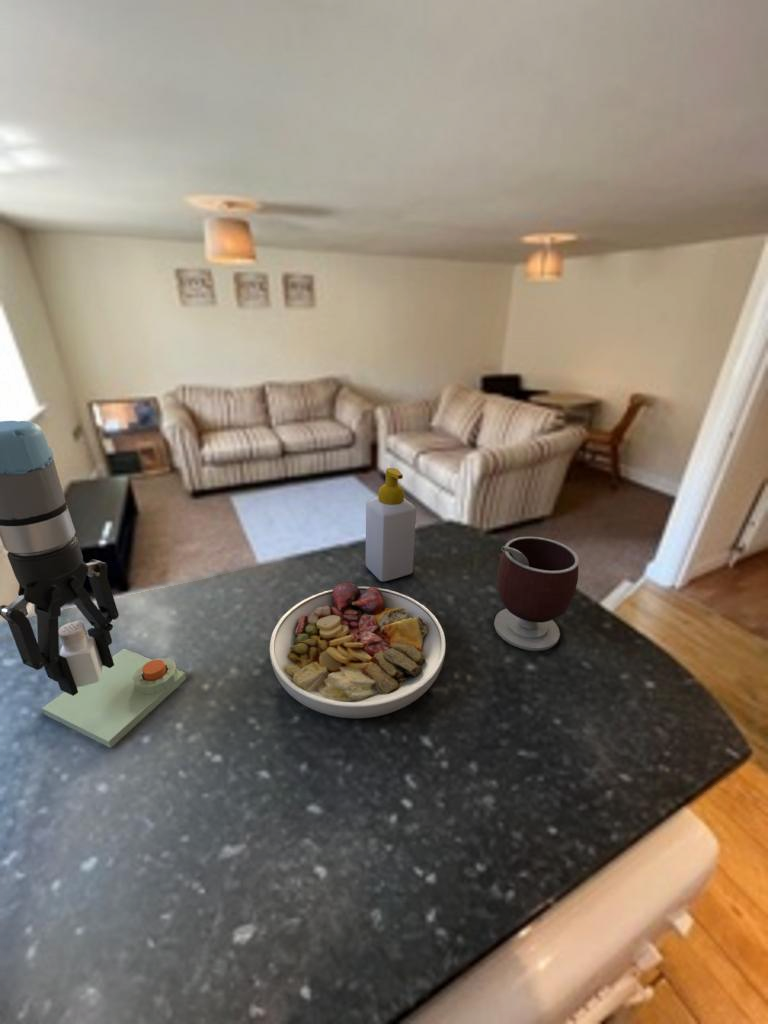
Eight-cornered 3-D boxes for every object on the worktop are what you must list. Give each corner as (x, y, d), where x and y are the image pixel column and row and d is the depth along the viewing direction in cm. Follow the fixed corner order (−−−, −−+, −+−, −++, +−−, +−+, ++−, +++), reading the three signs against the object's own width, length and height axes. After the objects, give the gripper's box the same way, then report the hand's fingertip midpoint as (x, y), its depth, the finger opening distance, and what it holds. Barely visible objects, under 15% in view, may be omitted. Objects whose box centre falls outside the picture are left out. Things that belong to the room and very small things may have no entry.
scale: (44, 714, 67) (38, 700, 66) (125, 654, 79) (121, 641, 78) (111, 748, 62) (105, 733, 61) (187, 678, 74) (184, 664, 73)
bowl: (473, 706, 70) (478, 668, 67) (278, 751, 63) (274, 711, 59) (410, 596, 96) (412, 565, 93) (267, 619, 89) (263, 586, 85)
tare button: (139, 677, 71) (137, 670, 70) (156, 664, 74) (154, 656, 73) (154, 683, 70) (152, 676, 69) (170, 670, 72) (169, 662, 72)
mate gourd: (532, 601, 96) (548, 517, 87) (579, 643, 84) (604, 551, 76) (469, 617, 91) (480, 529, 82) (511, 664, 79) (529, 567, 70)
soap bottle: (381, 584, 100) (383, 480, 90) (363, 565, 107) (363, 466, 97) (414, 574, 104) (421, 473, 94) (395, 557, 111) (399, 461, 101)
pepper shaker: (74, 672, 69) (56, 623, 65) (104, 665, 70) (88, 616, 66) (69, 691, 66) (51, 640, 62) (101, 683, 67) (84, 633, 63)
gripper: (88, 511, 67) (123, 633, 77) (-61, 571, 52) (7, 714, 62) (124, 520, 64) (155, 646, 74) (-21, 586, 49) (43, 733, 59)
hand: (88, 676), depth 68 cm, fingers closed on pepper shaker, 5 cm apart
